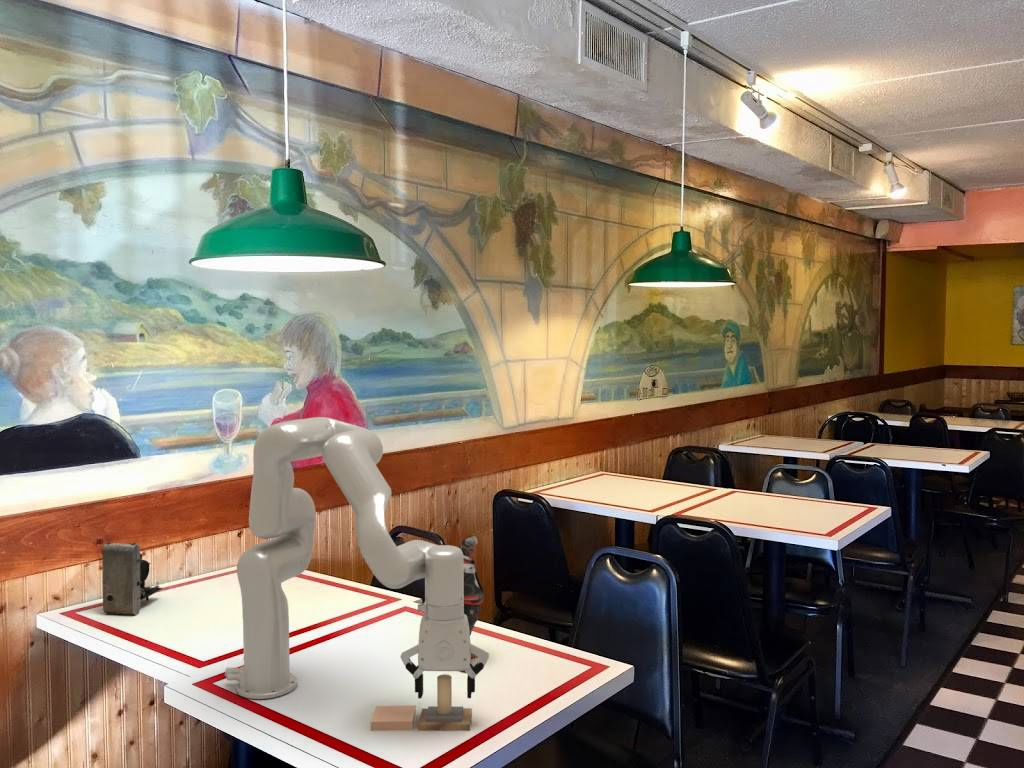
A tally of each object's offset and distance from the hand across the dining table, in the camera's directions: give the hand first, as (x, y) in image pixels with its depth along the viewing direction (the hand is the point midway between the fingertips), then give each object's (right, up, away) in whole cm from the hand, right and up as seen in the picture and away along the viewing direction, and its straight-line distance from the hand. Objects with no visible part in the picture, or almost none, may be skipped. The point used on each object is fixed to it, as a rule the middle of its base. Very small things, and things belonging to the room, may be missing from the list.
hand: (445, 695), depth 164 cm
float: (0, -4, 0) cm, 4 cm away
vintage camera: (-94, -2, +72) cm, 118 cm away
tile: (-14, -5, 0) cm, 15 cm away
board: (0, -5, 0) cm, 5 cm away
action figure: (+2, -4, +31) cm, 31 cm away
